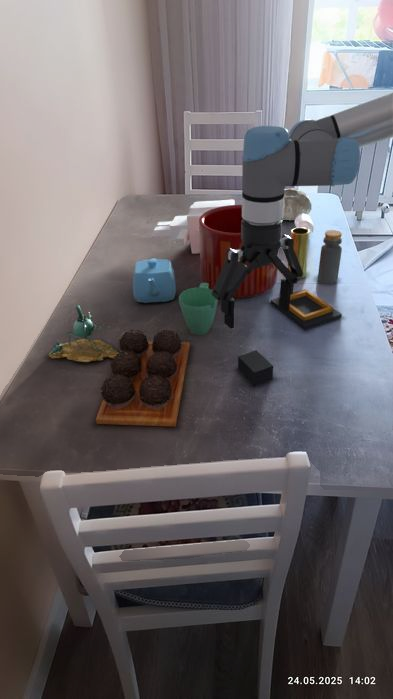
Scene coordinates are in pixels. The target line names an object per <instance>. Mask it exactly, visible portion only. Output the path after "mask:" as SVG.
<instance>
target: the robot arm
mask: <svg viewBox="0 0 393 699" xmlns="http://www.w3.org/2000/svg"><path fill="white" fill-rule="evenodd" d="M392 138H393V92H391V93H388V94H385V95H383V96H380V97H377V98H375V99H371V100H369V101H366V102H364V103H360V104H358V105H355V106H353V107H350V108H347V109H344V110H341V111H338V112H336V113H333V114H331V115H328V116H325V117H321V118H319V119H311V118H310V119H309V118H307V119H302V120H300V121H298V122H296V123H295V124H294V125H293V126H292V127H291V129H290V130H288V128H286V127H283V126H280V125H279V126H278V125H259V126H253V127H251V128H249V129H248V130H247V131H246V132H245V134H244V137H243V148H242V149H243V150H242V157H241V158H242V171H241V172H242V177H241V178H242V179H241V180H242V182H241V191H242V192H241V193H242V194H241V195H242V196H241V205H242V218H243V220H242V221H241V239H242V246H241V248H240V249H239V250H232V249H231V248H229V249H227V252H226V260H225V263H224V265H223V267H222V270H221V272H220V274H219V277H218V279H217V282H216V284H215V286H214V289H213V291H212V295H213V296H214V297H215V298H216V299H217V300H218V301H217V302H220V311H221V313H223V324H224V325H226V326H227V327H228V329H230V330H233V329H235V302H236V301H235V299H234V298H232V297H233V295H234V294H235V292H236V291H237V290H238V288H239V287H240V285H241V284H242V282H243V281H244V279H245V278H246V276H247V275H248V274H249V273H251V272H252V271H253V269H254V268H260V267H261V266H267V265H269V263H271V262H272V264H273V265H274V266H275V267H276V268H277V271H279V273H280V274H281V275H282V276H283V278H280V286H279V296H278V297H279V306H280V307H281V308H282V309H283V310H285V311H289V306H290V295H292V294H293V293H294V287H295V285H296V284H298V283H299V279H297V278H298V277H302V276H303V271H302V268H301V266H300V263H299V261H298V258H297V256H296V253H295V251H294V240H293V239H292V238H291V236H289V235H287V234H283V233H282V232H283V231H282V230H283V220H281V219H282V217H283V208H284V191H285V189H286V187H327V186H328V187H329V186H330V187H335V186H343V185H350V184H352V183H353V182H354V181H355V180H356V178H357V176H358V173H359V169H360V164H361V162H360V161H361V149H363V148H365V147H368V146H371V145H375V144H377V143H380V142H383V141H386V140H389V139H392ZM280 249H282V252H283V254H284V257H285V259H286V262H287V265H288V264H289V266H290V269H291V272H290V270H289V269H288V266H286V264H285V263H284V262H283V261H282V259H281V258H280V257H279V255H278V256H277V255H276V254H277V252H278V251H280ZM278 253H279V252H278ZM241 256H242V258H241V259H240V257H241ZM246 262H247V264H248V266H245V263H246ZM237 264H238V267H237ZM236 267H237V268H236ZM235 269H236V270H235Z"/></svg>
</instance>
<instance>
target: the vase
mask: <svg viewBox="0 0 393 699" xmlns="http://www.w3.org/2000/svg"><path fill="white" fill-rule="evenodd" d="M309 237H310V235H309V230H308V229H306V228H296V227H294V228H292V229H291V230H290V238H292V239H293V240H294V251H295V253H296V256H297V258H298V261H299V263H300V266H301V268H302V271H303V276H302V277H298V278H297V279H298V280H300V279H304V278H305V277H306V276H307V263H308V262H307V261H308V251H309V250H308V249H309ZM287 268H288V269H289V270H290V272H291V269H290V266H289V264H288V263H287Z"/></svg>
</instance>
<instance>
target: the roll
mask: <svg viewBox="0 0 393 699" xmlns="http://www.w3.org/2000/svg"><path fill="white" fill-rule="evenodd" d="M293 221H294V226H295V228H306V229H308V230H309V236H310V235H312V234H313V233H314V230H315V227H314V224H313V221H312V219H311V217H310V216H309V214H308V215H306V214H300V215H298V216H297V217H296V218H295V220H293Z"/></svg>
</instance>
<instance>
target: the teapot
mask: <svg viewBox="0 0 393 699" xmlns="http://www.w3.org/2000/svg"><path fill="white" fill-rule="evenodd" d="M132 286H133V287H132V291H133V297H134V299H135V301H136V302H138V303H144V304H148V303H161V302H162V303H167V302H169V301H172V300H174V299H175V296H176V291H177V282H176V275H175V271H174V268H173V264H172V262H171V260H170V259H165V258H158V259H157V258H155V257H152V258H150V259H142V260H137V261H136V263H135V266H134V272H133V279H132Z"/></svg>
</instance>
